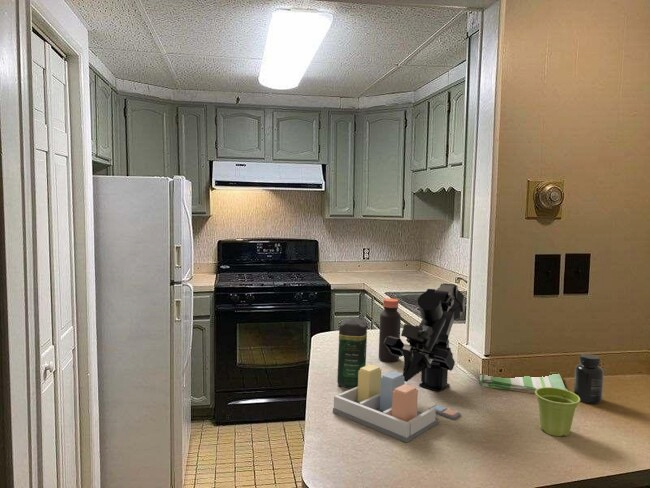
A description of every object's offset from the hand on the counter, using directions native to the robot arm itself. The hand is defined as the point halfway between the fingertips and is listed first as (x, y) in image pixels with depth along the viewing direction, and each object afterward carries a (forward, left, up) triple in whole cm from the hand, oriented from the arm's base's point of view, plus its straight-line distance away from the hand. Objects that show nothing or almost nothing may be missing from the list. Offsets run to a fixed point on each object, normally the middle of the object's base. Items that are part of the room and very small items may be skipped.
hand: (404, 380), depth 124 cm
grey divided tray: (0, +8, -7) cm, 11 cm away
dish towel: (-14, -41, -8) cm, 44 cm away
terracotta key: (-7, +10, -6) cm, 14 cm away
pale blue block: (0, +5, -6) cm, 8 cm away
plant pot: (-32, -15, -7) cm, 36 cm away
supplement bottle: (-32, -41, -7) cm, 52 cm away
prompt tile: (-9, -5, -7) cm, 12 cm away
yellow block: (+7, +5, -6) cm, 11 cm away
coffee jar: (+20, -4, -7) cm, 22 cm away
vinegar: (+25, -29, -7) cm, 39 cm away
